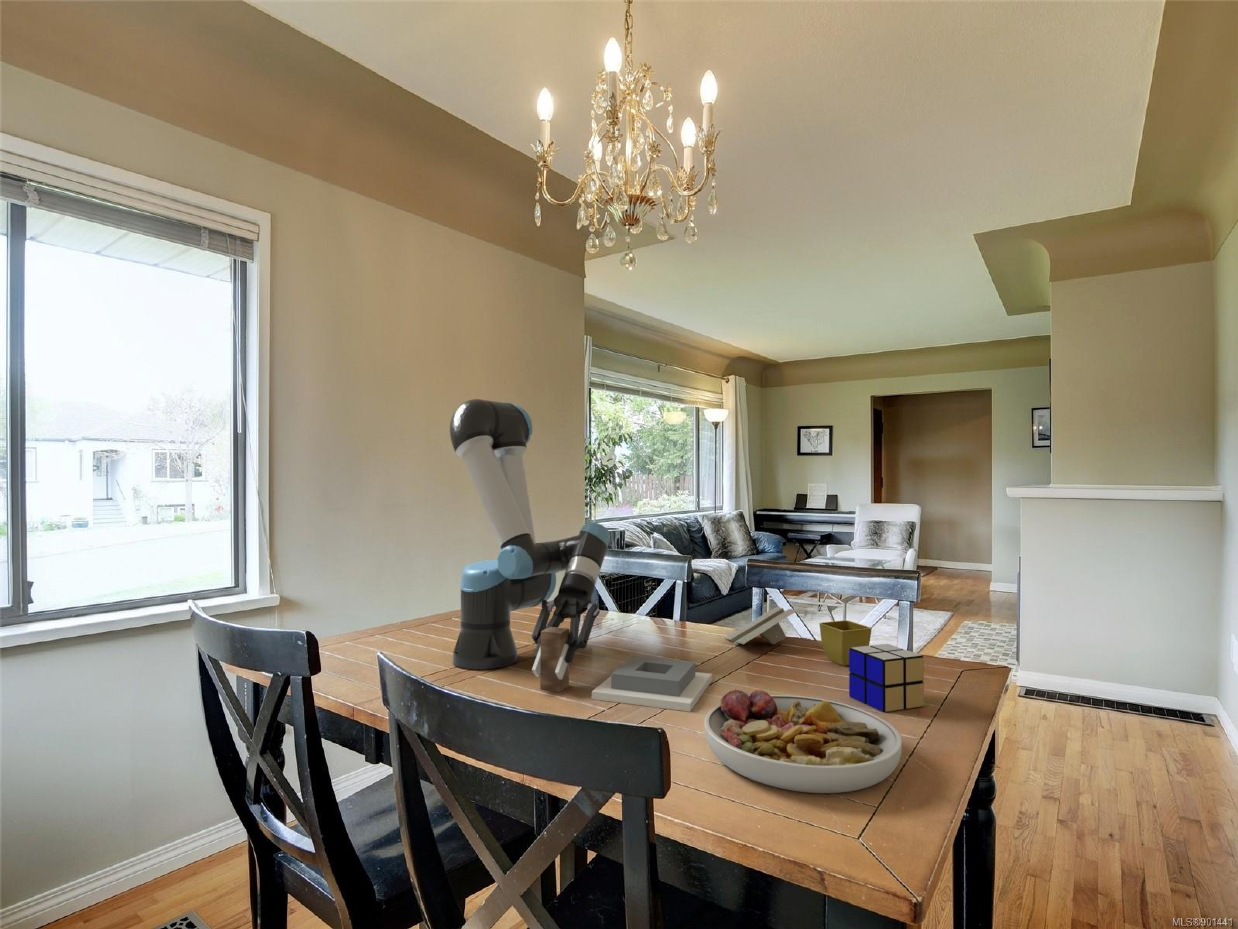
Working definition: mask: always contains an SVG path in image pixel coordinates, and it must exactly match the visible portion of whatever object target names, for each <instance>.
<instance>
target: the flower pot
mask: <svg viewBox="0 0 1238 929" xmlns="http://www.w3.org/2000/svg"><path fill="white" fill-rule="evenodd" d="M819 632H820V639H821V640H820V641H821V645H822V648H823V651H824V653H825V654H826V656H827V658H828V660H829V661H831V662H833V663H836V664H838V665H840V666H843V667H845V666H849V649H850V648H852V647H861V646H870V644H871V643H870V642H871V635H872V627H870V626H867V625H864V624H860V623H857V622H854V621H851V620H835V621H825V622H824V621H822V622H819Z"/></svg>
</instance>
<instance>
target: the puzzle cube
mask: <svg viewBox="0 0 1238 929" xmlns="http://www.w3.org/2000/svg"><path fill="white" fill-rule="evenodd" d="M924 662H925V659H924V656H923V655H922V654H920V653H916V652H914V651H911V650H908V649H903V648H901V647H899V646H896V645H892V644H889V643H881V644H871V645H869V646H861V647H852V648H850V649H849V665H848V671H849V674H848V677H849V678H848V681H849V682H848V691H849V692H848V694H849V695H848V697H850V698H852V699H854V700H856V701H858V702H860V703H862V704H864V705H867V706H869V707H870V708H873V709H875V710H877V711H880V712H882V713H883V714H884V713H885V714H886V713H893V712H898V711H904V710H911V709H918V708H923V707H925V688H924V686H925V682H924V680H925V679H924V671H925V665H924Z"/></svg>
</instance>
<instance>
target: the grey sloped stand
mask: <svg viewBox="0 0 1238 929" xmlns="http://www.w3.org/2000/svg"><path fill="white" fill-rule="evenodd" d="M798 611H799V610H797V609H792V608H788V609H787V610H784V608H783V607H779V606H776V607H774V608H772V609H771V610H769V611H766V612H765V613H763V614H762V615H760V616H758V617H757V618H755V619H754V620H751V621H750V622H749V623H747V624H745V625H743V626H741V627H740V628H738V629H737V630H740V631H736V630H734V631H733V632H731V633H730V634H728V635H726V636H724V639H726V640H729V641H730V642H731V643H732V644H734V645H736V646H738V645H740V644H741V645H745V644H746V643H748V642H749V641H750V640H753V639H754V638H756V637H758V636H760V637H761V638H762V639H763V640H764V641H766V642H767V643H768V644H770V645H775V644H777V643H779V642H781V641H782V640H784V639H785V638H787V635H786V633H785V631H784V629H783V628H782V626H781V625H780V624H781V623H780V622H782V621H783V620H785V619H787V618H788V617H790V616H791V615H793V614H795V613H796V612H798ZM776 636H777V637H776Z"/></svg>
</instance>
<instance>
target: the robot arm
mask: <svg viewBox="0 0 1238 929" xmlns="http://www.w3.org/2000/svg"><path fill="white" fill-rule="evenodd" d="M532 435H533V423H532V420H531V417H530V415H529V413H528V412H527V411H526V409H524V408H523V407H522V406H520V405H517V404H513V403H511V402H508V401H507V402H506V401H505V402H503V401H502V402H501V401H495V400H494V401H493V400H486V399H479V398H474V399H467V400H466V401H465V402H462V403H461V404H460V405H458V407H457V408H456V409H455V410H454V412H453V414H452V416H451V418H450V423H449V438H450V441H451V444H452V447H453V450H454V452H455V455H456V456H457V457H458V458H461V459H462V461H463V462H464V465H465V467H466V470H467V472H468V474H469V477H470V479H471V482H472V484H473V486H474V489H475V490H476V491H475V492H476V493H477V495H478V497H479V501H480V502H481V506H482V507H483V510H484V512H485V514H486V516H487V519H488V520H489V521H488V522H489V523H490V525H491V526H490V527H491V528H492V530H493V533H494V535H495V538H496V540H497V542H498V544H499V547H500V551H499V552H498V555H497V559H489V560H481V561H477V562H473V563H470V564H468V565H466V566H465V567H464V568H463V569H462V572H461V578H460V585H459V587H460V630H459V634H458V637H457V639H456V643H455V646H454V649H453V652H452V664H453V665H454V666H456V667H458V668H461V669H466V670H492V669H499V668H504V667H508V666H510V665H513V664H514V663H516V662H517V661H518V648H517V645H516V642H515V638H514V635H513V633H512V629H511V612H514V611H518V610H523V609H526V608H532V607H533V608H535V607H537V606H539V605H541V609H540V611H539V615H538V617H537V621H536V623H535V626H534V628H533V631H532V634H531V638H532V640H533V642H534V643H535V645H536V648H535V650H534V653H533V657H534V658H535V660H534V663H533V666H532V669H531V671H532V672H533V674H534V675H535V677H540V673H541V631H543V630H545V629H547V628H549V627H558V628H560V627H559V626H560V625H561V624H562V623H564V621H565V620H566V619H570V624H569V625H570V626H569V641H568V643H569V646H568V644H564V647H563V650H562V653H561V656H560V659H559V662H558V665H557V668H556V670H555V673H556V675H557V677H558V679H563V675H564V672H565V669H566V666H567V663H569V664H572V662H573V660H574V656H575V653H576V651H577V650H578V649H582V650H584V649H586V648H587V645H588V642H589V638H590V636H591V632H592V630H593V629H592V628H593V626H594V623H595V619H596V618H597V617H598V616H599V614H600V612H601V610H600V609H599V608H600V607H599V606H598V604H597V603H591V600H592V596H593V595H594V594H593V593H594V590H595V586H596V583H597V581H598V578H599V575H600V572H601V569H602V565H603V562H604V560H605V556H606V553H607V551H608V550H609V545H610V539H611V533H610V531H609V530H608V529H607V528H606V527H605V526H604V525H602V524H600V523H597V522H587V523H585V524H584V525H583V526H582V527H581V529H580V530H579V534H578V535H574V536H571V537H566V538H563V539H558V540H552V541H545V542H536V537H535V529H534V524H533V517H532V511H531V504H530V498H529V491H528V484H527V478H526V472H525V471H526V470H525V466H524V458H523V456H524V454H525V453H526V452H527V450H528V447H527V444H528V443H529V442H530V440H531V436H532ZM563 571H564V576H563V578H562V580H561V582H560V584H559V585H560V586H559V589H558V593H557V595H556V596H555V597H554V599H553V600H549V599H550V598H551V597H552V595H553V594H554V592H555V589H556V585H557V573H560V572H563ZM554 607H555V609H554ZM553 609H554V611H553ZM552 612H553V614H552V617H551V613H552ZM585 612H586V615H585V616H584V620H583V623H582V625H581V629H580V624H581V615H583V614H584V613H585ZM550 617H551V618H550ZM549 619H550V620H549Z"/></svg>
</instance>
